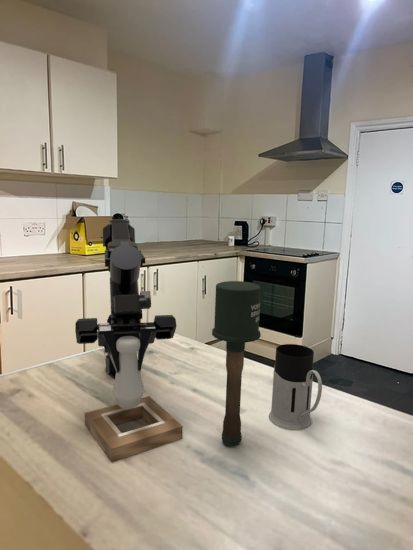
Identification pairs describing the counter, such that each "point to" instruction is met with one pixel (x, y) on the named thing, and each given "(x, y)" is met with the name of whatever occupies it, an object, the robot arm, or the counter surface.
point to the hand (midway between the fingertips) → (128, 371)
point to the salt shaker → (128, 374)
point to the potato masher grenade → (235, 344)
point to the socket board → (136, 440)
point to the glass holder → (293, 387)
